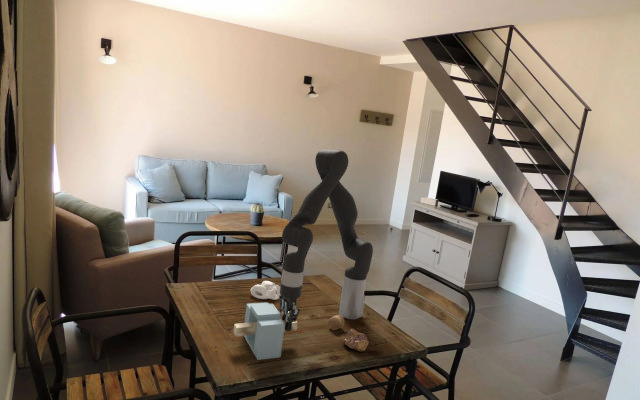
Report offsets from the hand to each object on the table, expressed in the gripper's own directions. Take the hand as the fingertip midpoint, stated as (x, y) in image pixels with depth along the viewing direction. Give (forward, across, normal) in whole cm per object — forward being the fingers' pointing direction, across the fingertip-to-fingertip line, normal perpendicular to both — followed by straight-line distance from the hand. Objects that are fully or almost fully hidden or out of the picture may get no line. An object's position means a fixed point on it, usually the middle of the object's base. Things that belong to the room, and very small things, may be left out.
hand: (286, 328), depth 157 cm
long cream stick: (0, 0, +8) cm, 8 cm away
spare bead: (+6, +7, -24) cm, 26 cm away
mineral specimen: (+6, -7, -25) cm, 27 cm away
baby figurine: (+6, +40, -7) cm, 41 cm away
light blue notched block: (+6, 0, +9) cm, 10 cm away
